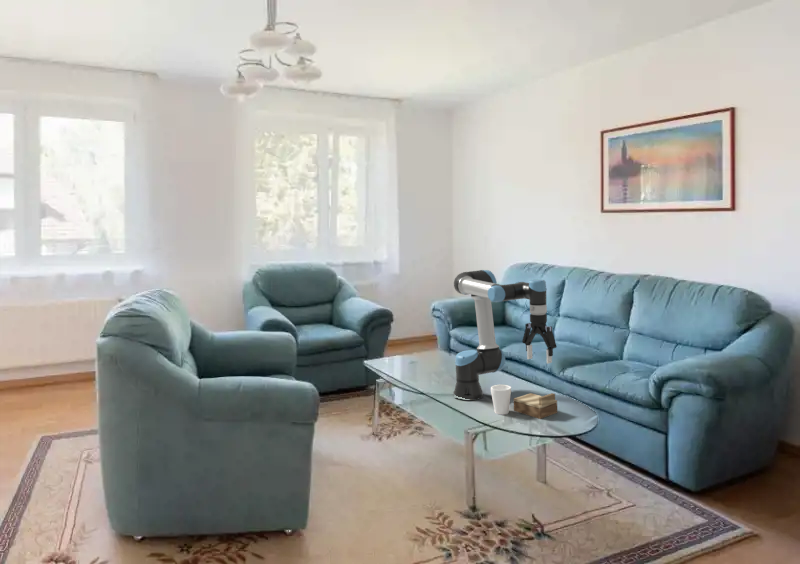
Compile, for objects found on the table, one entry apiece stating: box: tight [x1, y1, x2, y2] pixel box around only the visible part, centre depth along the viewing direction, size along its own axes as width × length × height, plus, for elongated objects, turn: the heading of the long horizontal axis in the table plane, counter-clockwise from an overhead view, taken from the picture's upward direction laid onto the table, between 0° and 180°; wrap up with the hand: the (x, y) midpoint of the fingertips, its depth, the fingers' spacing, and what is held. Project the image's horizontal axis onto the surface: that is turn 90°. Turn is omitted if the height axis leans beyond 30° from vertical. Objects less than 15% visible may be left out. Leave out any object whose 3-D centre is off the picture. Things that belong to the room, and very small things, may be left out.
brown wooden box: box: [513, 400, 558, 420], centre depth 281 cm, size 16×12×6 cm
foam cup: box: [490, 384, 512, 416], centre depth 282 cm, size 10×9×13 cm
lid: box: [513, 392, 558, 409], centre depth 280 cm, size 16×12×4 cm
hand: (539, 360), depth 276 cm, fingers open, 11 cm apart
